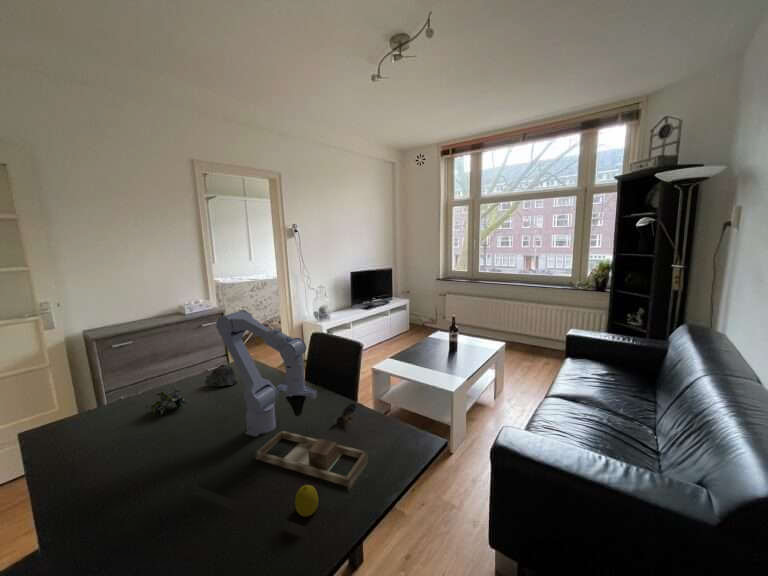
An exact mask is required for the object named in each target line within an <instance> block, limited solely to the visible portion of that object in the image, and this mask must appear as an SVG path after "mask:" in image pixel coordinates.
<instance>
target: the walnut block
mask: <svg viewBox="0 0 768 576" xmlns="http://www.w3.org/2000/svg"><path fill="white" fill-rule="evenodd" d="M337 444H338V443H337V441H335V442H334V441H332V440H328V439H327V440H326V439H324V438H319V439H318V441H317V442H316V443H315V444H314V445H313V446H312V447H311V448H310V449H309V450H308V454H309V466H312V467H315V468H319V469H322V470H326V471H328V469H329V468H330V467H331V466H332V464H333V463H334V462H335V460H336V459H337V458H338V454H337Z"/></svg>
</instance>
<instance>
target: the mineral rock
mask: <svg viewBox="0 0 768 576" xmlns="http://www.w3.org/2000/svg"><path fill="white" fill-rule="evenodd" d="M205 378H206V379H205V380H204V382H203V383H204V384H205V385H206V386H209V387H225V385H229V384H234V383H236V382H237V380H238V381H239V374H238V371H237V369H236V367H234V366H233V365H227V364H225V363H223V364H220V365H219V366H218V367H217V368H214V369H213V370H212V371H211V373H210V374H207V375H206V377H205ZM237 383H238V382H237ZM237 383H236V384H237Z"/></svg>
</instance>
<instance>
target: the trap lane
mask: <svg viewBox="0 0 768 576" xmlns="http://www.w3.org/2000/svg"><path fill="white" fill-rule="evenodd" d="M282 439H283V440H288V441H291V442H295V443H297V444H296V446H295V447H294V448H292V449H291V450H290V451H289V452H288V454H287V455H285V456H284V457H280V456H277V455H274V454H270V453H268V451H270V450H271V449H272V448H273V447H274V446H275V445H277V444H278V443H279V442H280V441H282ZM318 440H319V439H317V438H315V437H310V436H305V435H302V434H297V433H293V432H290V431H285V430H280V431H279V432H277V434H275V435H274V436H273V437H272V438H270V439H269V441H267V442H266V443H265V444H263V446H262V447H260V448H259V449H258V450H257V451H256V452H254V454H255V460H258V461H262V462H264V463H268V464H271V465H275V466H278V467H281V468H285V469H288V470H292V471H295V472H298V473H302V474H304V475H308V476H311V477H314V478H318V479H322V480H324V481H328V482H332V483H335V484H338V485H340V486H344V487H347V489H346V490H345V491H346V492H350V490H351V489H352V488H353V486H354V485H355V482H356V481H357V480H358V478H359V477H360V475H361V473H362V472H363V470H364V468H366V465H367V464H368V460H369V459H368V451H365V450H362V449H358V448H353V447H350V446H346V445H345V446H344V445H343V444H342V445H341V444H338V443H337V454H338V458H337V459H336V460H335V462H334V463H333V464H332V466H331V467H330V468H329V469H328V471H326V470H322V469H319V468H315V467H312V466H309V454H308V450H309V449H310V448H311V447H312V446H313V445H314V444H315V443H316V442H317V441H318ZM343 455H344V456H350V457H352V458H357V459H358V460H357V461H356V462H355V464H354V465H353V466H352V468H351V470H350V471H349V472H348V474H347V475H343V474H339V473H335V472H333V471H331V470H332V468H333V467H334V465H335V464H336V463H337V462H338V461H339V459H340V458H341V456H343Z"/></svg>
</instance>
